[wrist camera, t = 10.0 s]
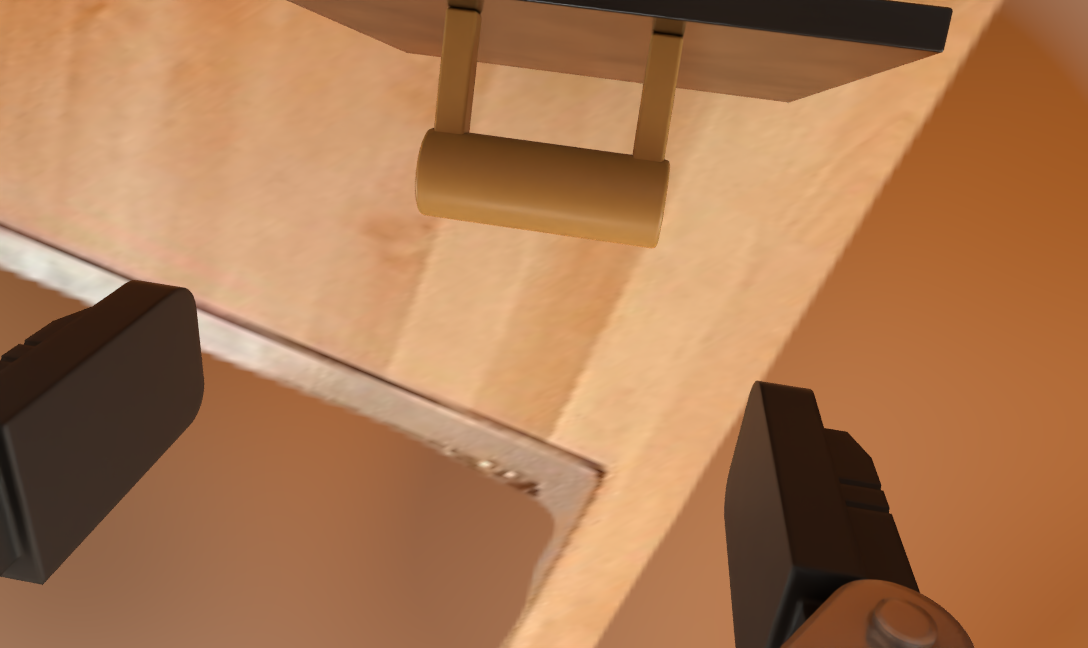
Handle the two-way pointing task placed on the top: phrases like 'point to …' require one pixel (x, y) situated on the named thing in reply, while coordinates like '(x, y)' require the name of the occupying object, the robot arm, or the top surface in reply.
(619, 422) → the top surface
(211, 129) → the top surface
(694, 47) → the bin lid
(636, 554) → the top surface
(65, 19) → the top surface
